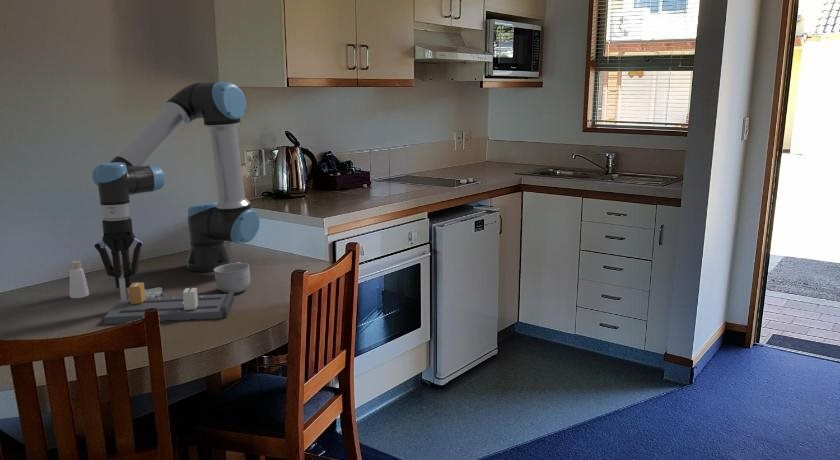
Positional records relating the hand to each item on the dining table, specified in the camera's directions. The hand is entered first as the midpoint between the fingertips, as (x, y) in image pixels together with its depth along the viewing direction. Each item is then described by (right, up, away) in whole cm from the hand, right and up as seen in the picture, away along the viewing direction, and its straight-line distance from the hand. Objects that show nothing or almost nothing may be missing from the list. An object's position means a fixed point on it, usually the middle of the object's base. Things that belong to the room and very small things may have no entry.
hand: (125, 298), depth 185 cm
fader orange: (+3, -1, +1) cm, 4 cm away
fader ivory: (+21, -2, -5) cm, 21 cm away
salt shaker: (-20, -1, +14) cm, 24 cm away
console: (+14, -4, -1) cm, 15 cm away
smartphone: (+2, -2, +12) cm, 12 cm away
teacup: (+26, +1, +19) cm, 33 cm away
